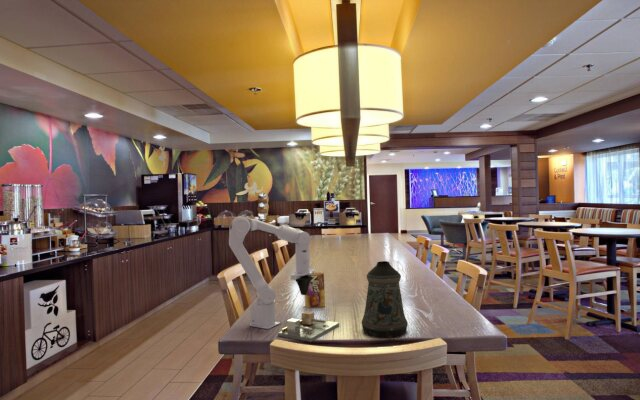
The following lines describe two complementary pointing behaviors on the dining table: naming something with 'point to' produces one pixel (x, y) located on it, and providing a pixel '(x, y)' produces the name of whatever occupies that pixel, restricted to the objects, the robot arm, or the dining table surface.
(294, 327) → the fixed leg
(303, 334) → the bolt plate
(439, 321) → the dining table surface
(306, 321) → the slider
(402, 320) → the beer stein
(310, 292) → the candy box
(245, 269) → the robot arm
